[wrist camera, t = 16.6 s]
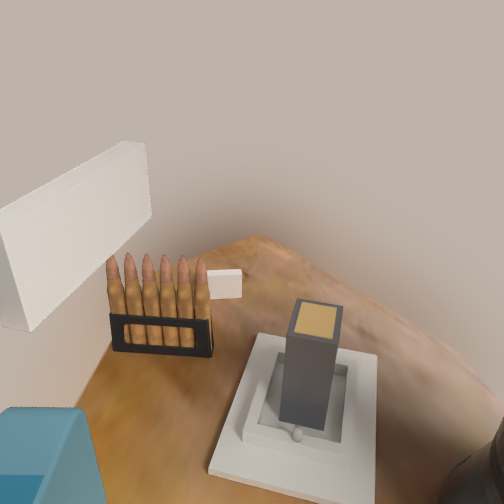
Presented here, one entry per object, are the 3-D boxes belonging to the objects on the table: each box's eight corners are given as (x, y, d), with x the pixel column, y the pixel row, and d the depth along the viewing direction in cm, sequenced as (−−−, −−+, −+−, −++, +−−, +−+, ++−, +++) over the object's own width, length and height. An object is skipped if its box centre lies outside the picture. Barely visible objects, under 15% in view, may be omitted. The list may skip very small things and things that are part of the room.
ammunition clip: (213, 346, 49) (211, 252, 43) (211, 358, 47) (209, 262, 41) (118, 339, 49) (103, 246, 43) (113, 351, 47) (96, 256, 41)
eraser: (203, 294, 57) (202, 270, 55) (240, 292, 58) (241, 268, 56) (203, 299, 56) (202, 275, 54) (241, 298, 56) (242, 274, 55)
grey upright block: (329, 388, 43) (343, 305, 38) (323, 431, 38) (338, 344, 33) (289, 379, 43) (297, 297, 38) (278, 420, 39) (286, 334, 34)
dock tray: (375, 360, 47) (381, 335, 45) (372, 517, 33) (380, 490, 31) (258, 337, 50) (259, 313, 48) (208, 474, 36) (207, 446, 34)
